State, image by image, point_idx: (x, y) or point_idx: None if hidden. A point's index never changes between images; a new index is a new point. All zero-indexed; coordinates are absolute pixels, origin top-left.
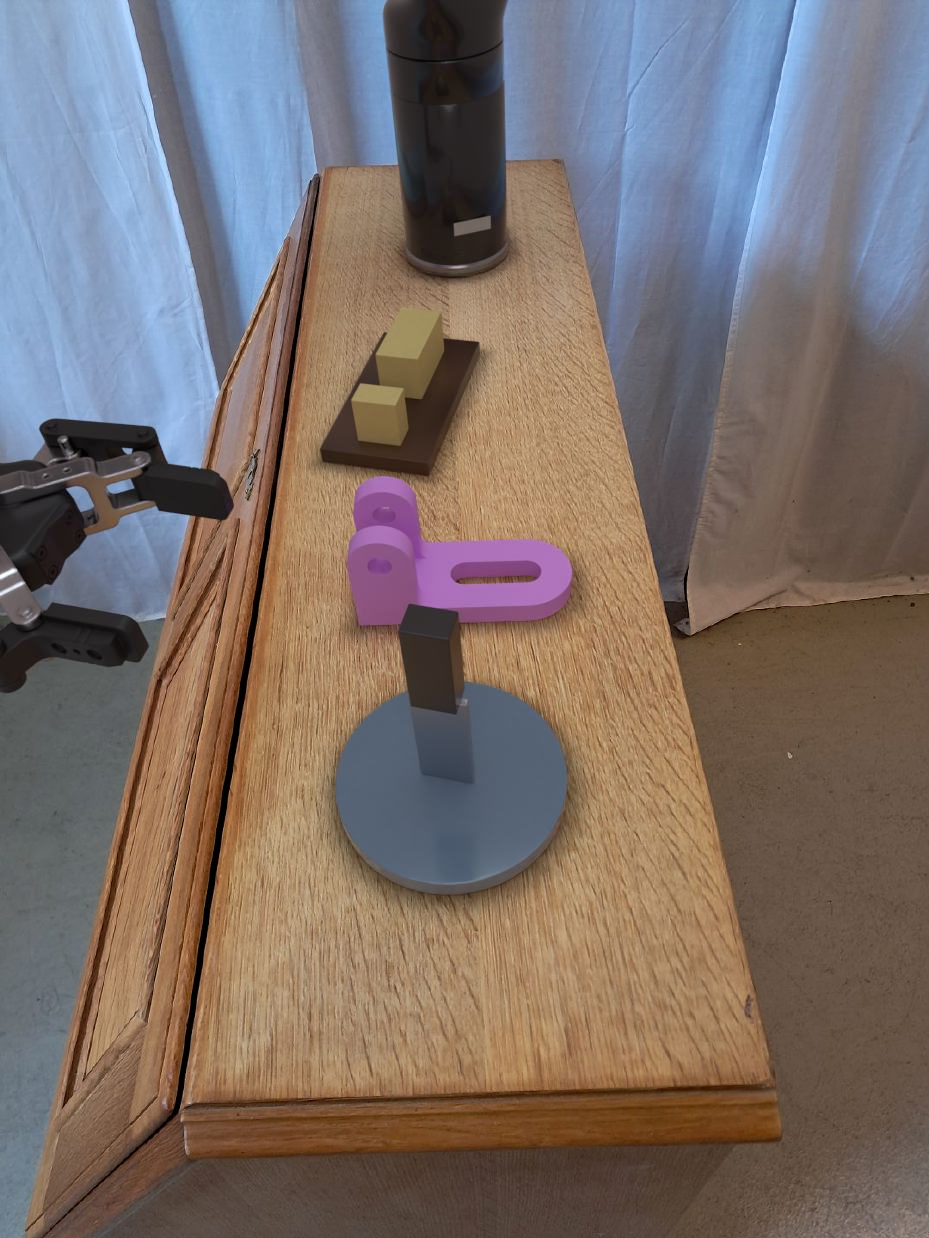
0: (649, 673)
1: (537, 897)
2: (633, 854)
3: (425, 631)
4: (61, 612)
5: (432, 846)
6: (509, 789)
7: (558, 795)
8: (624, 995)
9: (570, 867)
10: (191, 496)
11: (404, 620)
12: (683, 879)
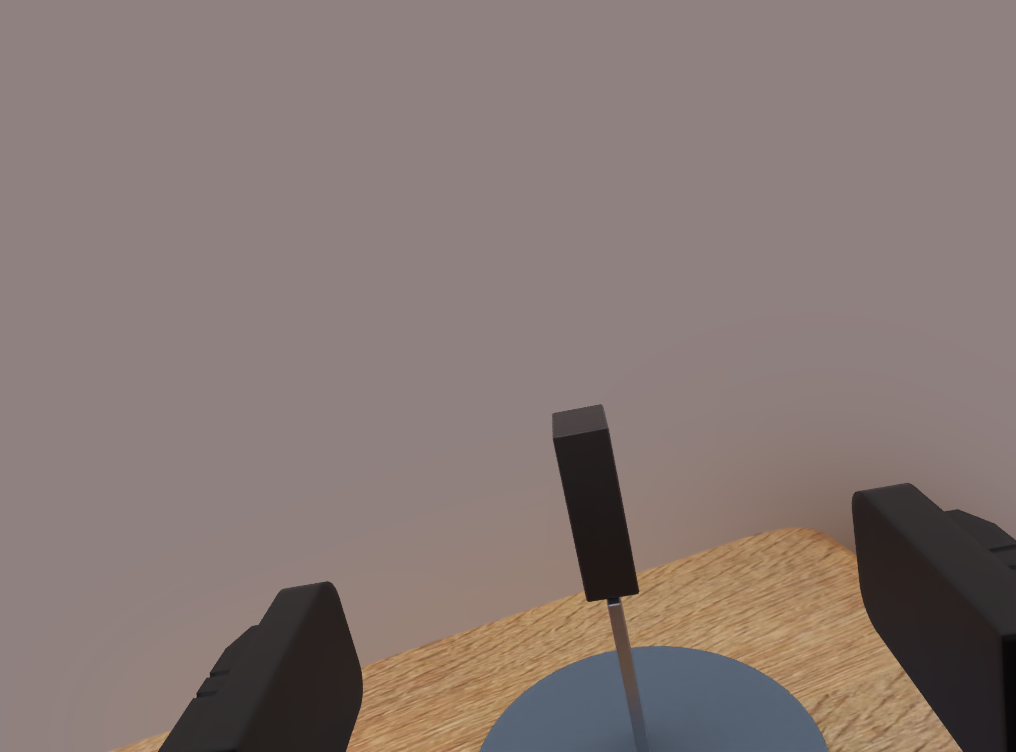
0: (421, 660)
1: (750, 661)
2: (656, 615)
3: (596, 416)
4: (1005, 585)
5: (762, 738)
6: None
7: None
8: (801, 585)
9: (697, 649)
10: (315, 690)
11: (586, 429)
12: (663, 583)
